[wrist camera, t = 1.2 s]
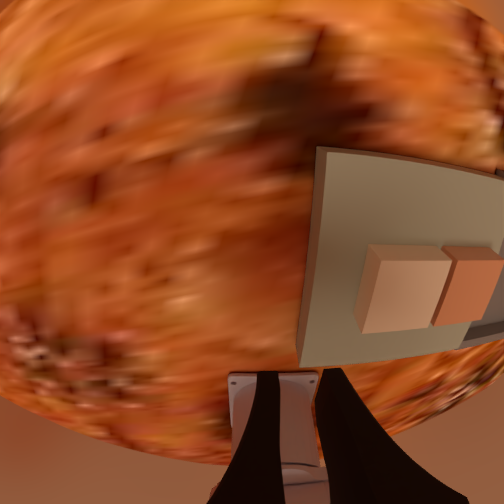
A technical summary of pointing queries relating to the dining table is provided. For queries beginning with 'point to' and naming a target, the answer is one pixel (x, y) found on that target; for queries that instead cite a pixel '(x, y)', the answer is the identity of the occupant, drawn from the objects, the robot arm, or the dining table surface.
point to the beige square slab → (384, 232)
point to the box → (489, 312)
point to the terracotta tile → (467, 284)
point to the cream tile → (400, 287)
